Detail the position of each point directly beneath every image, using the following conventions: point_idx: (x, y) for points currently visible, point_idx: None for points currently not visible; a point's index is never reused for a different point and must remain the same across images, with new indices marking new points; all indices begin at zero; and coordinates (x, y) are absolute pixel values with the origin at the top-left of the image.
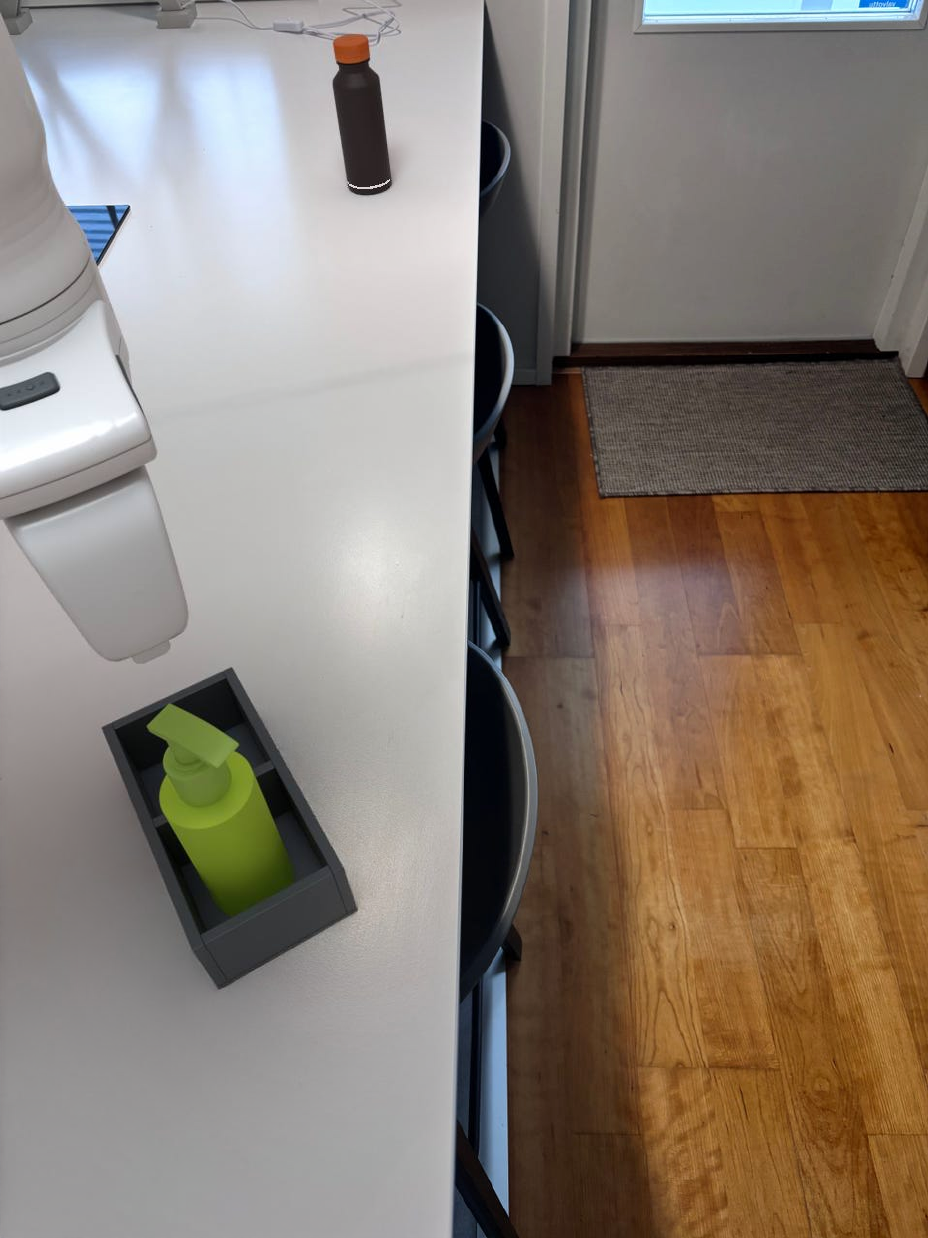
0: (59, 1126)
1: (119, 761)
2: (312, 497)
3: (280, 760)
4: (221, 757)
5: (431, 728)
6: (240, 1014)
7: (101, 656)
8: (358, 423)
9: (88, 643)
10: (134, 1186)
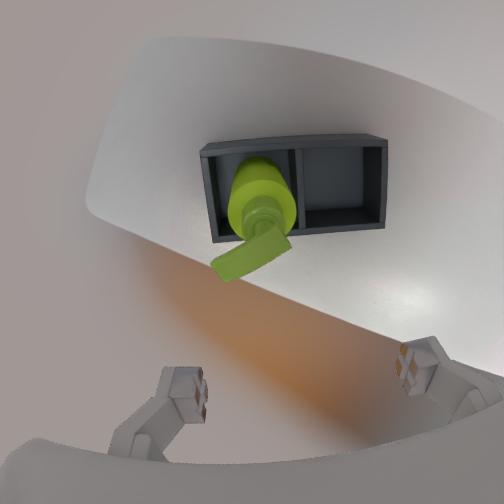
0: (175, 58)
1: (356, 142)
2: (466, 287)
3: (301, 233)
4: (217, 269)
5: (301, 291)
6: (189, 151)
7: (10, 453)
8: (482, 319)
9: (1, 469)
10: (134, 90)
